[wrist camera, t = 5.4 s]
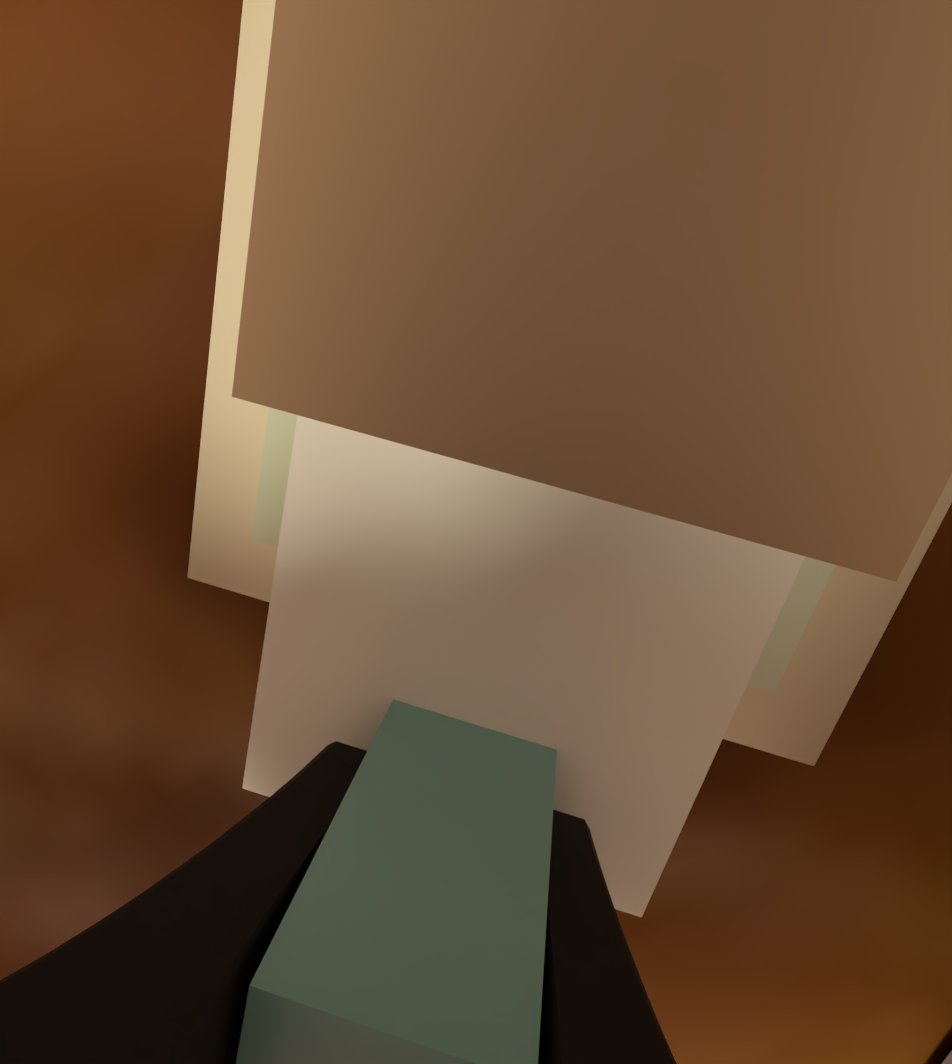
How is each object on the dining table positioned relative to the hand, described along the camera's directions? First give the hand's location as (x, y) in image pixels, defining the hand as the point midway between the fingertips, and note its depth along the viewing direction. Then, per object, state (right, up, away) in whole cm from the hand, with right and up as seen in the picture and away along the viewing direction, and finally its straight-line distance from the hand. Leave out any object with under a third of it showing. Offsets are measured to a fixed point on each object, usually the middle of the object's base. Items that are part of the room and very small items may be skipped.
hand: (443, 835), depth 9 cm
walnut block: (+2, +8, -2) cm, 8 cm away
